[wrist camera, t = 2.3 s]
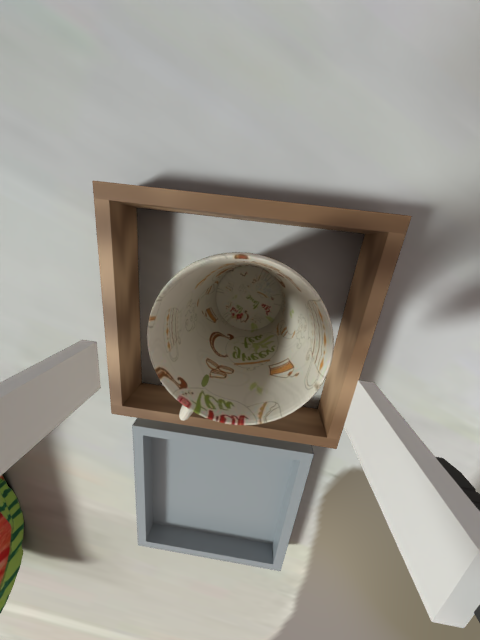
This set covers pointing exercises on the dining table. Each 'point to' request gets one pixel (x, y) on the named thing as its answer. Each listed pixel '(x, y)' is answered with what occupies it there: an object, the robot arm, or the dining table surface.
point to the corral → (123, 200)
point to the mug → (240, 339)
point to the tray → (217, 492)
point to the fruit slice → (9, 540)
